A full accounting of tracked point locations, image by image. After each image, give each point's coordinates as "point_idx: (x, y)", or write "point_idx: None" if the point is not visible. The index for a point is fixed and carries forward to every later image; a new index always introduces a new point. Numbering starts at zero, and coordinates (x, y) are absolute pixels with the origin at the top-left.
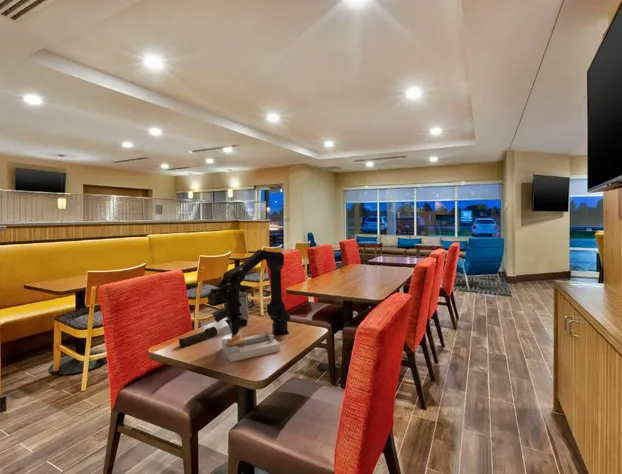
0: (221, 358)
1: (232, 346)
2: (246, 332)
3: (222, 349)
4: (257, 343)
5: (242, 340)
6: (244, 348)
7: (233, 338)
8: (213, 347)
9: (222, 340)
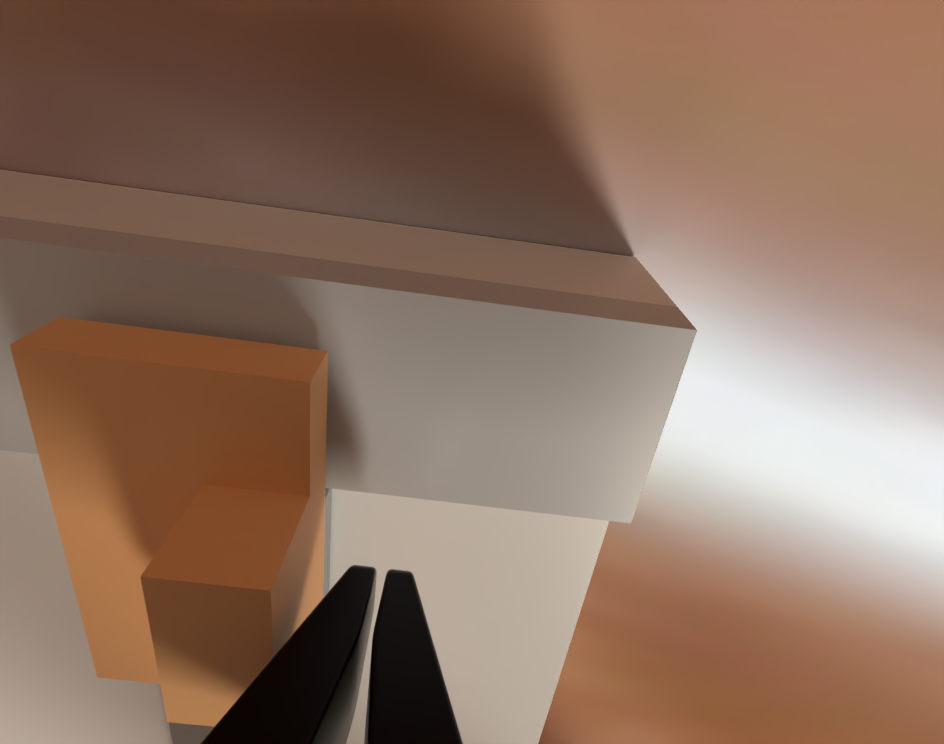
0: (154, 63)
1: None
2: (915, 736)
3: (567, 249)
4: None
5: (110, 631)
6: (19, 517)
7: (183, 544)
8: (836, 140)
9: (609, 329)
